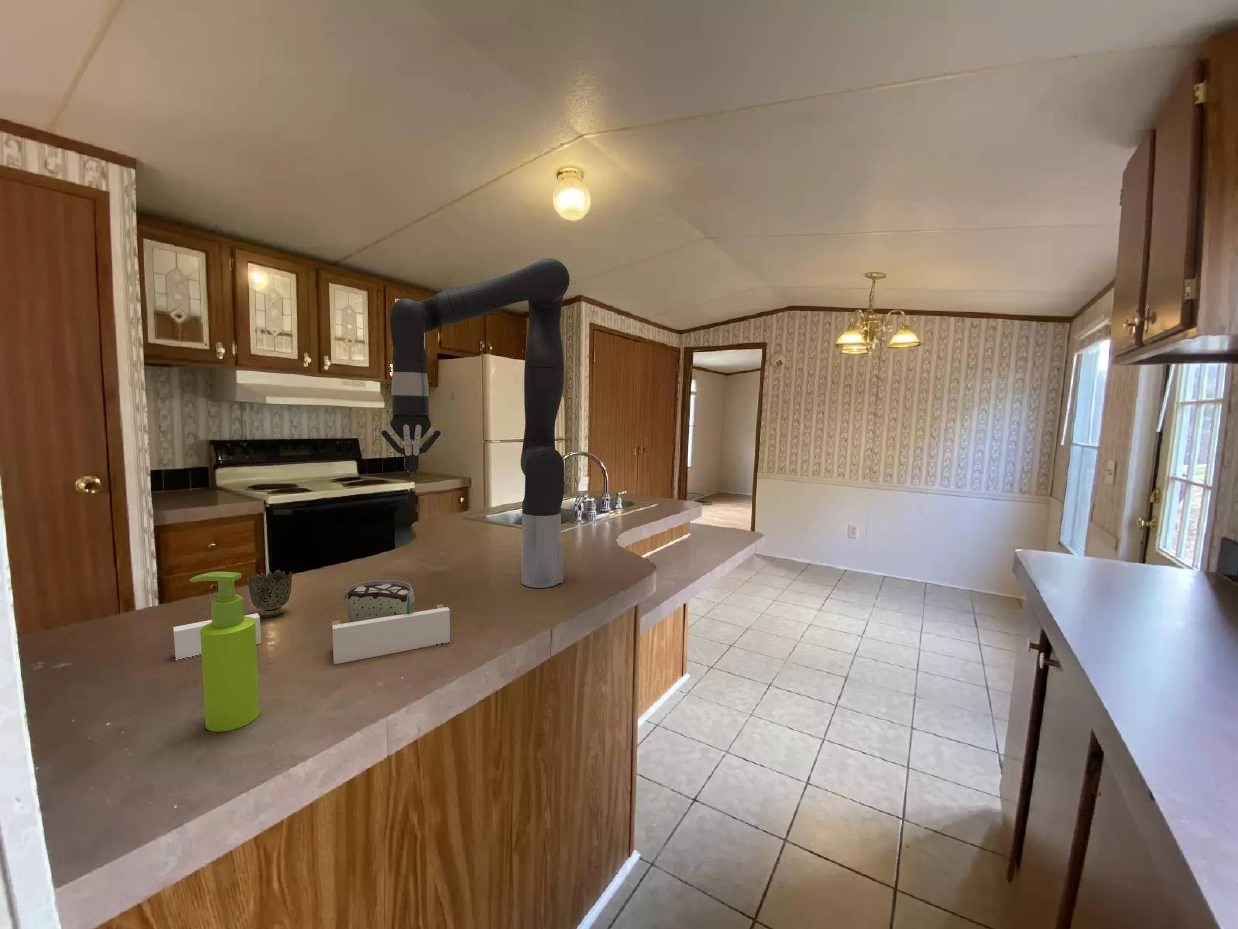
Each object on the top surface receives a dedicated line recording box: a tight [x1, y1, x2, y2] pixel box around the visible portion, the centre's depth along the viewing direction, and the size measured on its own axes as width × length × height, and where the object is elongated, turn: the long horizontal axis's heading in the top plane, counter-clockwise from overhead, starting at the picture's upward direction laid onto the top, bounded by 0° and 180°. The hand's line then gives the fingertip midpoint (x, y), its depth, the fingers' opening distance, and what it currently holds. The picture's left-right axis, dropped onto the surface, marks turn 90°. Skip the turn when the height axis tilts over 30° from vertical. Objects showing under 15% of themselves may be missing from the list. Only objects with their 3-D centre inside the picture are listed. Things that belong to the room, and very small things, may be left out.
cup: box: [246, 569, 293, 618], centre depth 105 cm, size 8×7×8 cm
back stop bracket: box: [331, 603, 451, 665], centre depth 94 cm, size 18×6×6 cm, turn 120°
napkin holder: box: [173, 612, 262, 661], centre depth 91 cm, size 15×11×6 cm
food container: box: [343, 579, 415, 623], centre depth 97 cm, size 12×6×10 cm, turn 85°
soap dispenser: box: [188, 571, 261, 733], centre depth 71 cm, size 6×7×20 cm
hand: (411, 471), depth 120 cm, fingers closed
